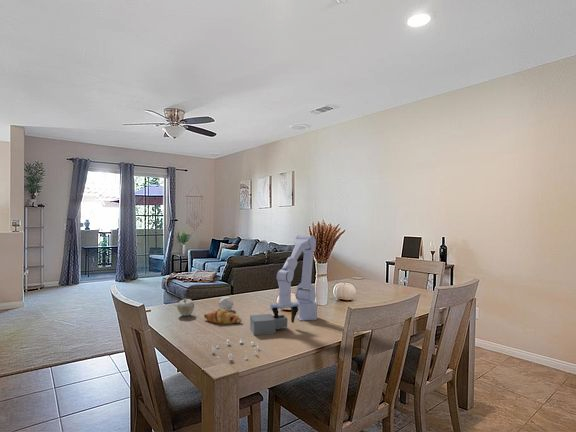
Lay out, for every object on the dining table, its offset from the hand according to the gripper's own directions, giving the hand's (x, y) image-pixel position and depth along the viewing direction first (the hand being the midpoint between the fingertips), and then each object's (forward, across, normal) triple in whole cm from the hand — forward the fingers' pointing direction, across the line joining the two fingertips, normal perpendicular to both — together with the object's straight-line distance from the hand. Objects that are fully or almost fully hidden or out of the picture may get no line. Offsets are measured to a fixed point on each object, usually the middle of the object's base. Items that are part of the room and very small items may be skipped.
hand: (284, 322), depth 168 cm
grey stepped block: (+3, -8, 0) cm, 8 cm away
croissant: (+3, -29, +18) cm, 34 cm away
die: (+3, -25, +39) cm, 47 cm away
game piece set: (+4, -25, -22) cm, 34 cm away
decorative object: (+3, -47, +34) cm, 58 cm away
